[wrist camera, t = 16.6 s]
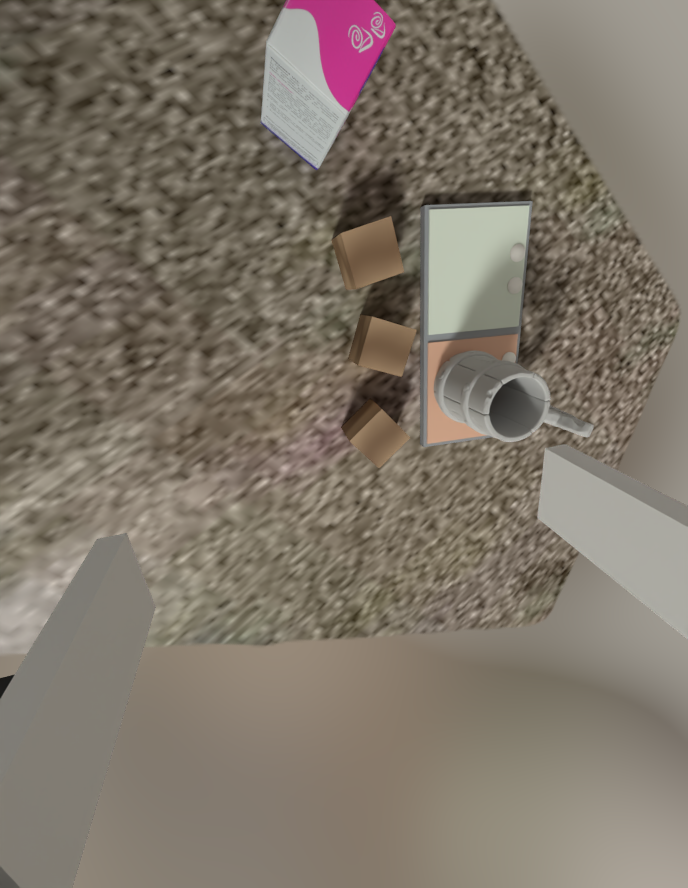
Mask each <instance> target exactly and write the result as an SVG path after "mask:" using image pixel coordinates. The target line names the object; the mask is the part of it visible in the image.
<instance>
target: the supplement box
mask: <svg viewBox="0 0 688 888" xmlns="http://www.w3.org/2000/svg"><path fill="white" fill-rule="evenodd" d="M395 27H396V24H395V23H394V22H393V20H392V19H391V18H390V17H389V16H388V15H387V14H386V12H385V11H384V10H383V9H382V8H381V7H380V6H379V5H378V4H377V3H376V2H375V1H374V0H286V2H285V4H284V6H283V8H282V10H281V12H280V14H279V16H278V18H277V20H276V22H275V25H274V27H273V29H272V31H271V33H270V35H269V37H268V39H267V42H266V56H265V71H264V85H263V101H262V114H261V121H260V123H261V124H262V125H263V126H264V127H265V128H267V129H268V130H269V131H270V132H271V133H273V134H274V135H275V136H276V137H278V138H279V139H280V140H281V141H282V142H284V143H285V144H286V145H287V146H288V147H290V148H291V149H292V150H293V151H294V152H295V153H296V154H298V155H299V156H300V157H301V158H302V159H303V160H305V161H306V162H307V163H308V164H310V165H311V166H312V167H313V168H314V169H316V170H317V169H319V167H320V165H321V164H322V162H323V160H324V158H325V157H326V155H327V153H328V151H329V149H330V148H331V146H332V144H333V142H334V141H335V139H336V137H337V135H338V133H339V132H340V130H341V128H342V126H343V124H344V123H345V121H346V119H347V117H348V115H349V113H350V111H351V110H352V108H353V106H354V104H355V102H356V101H357V99H358V97H359V95H360V93H361V91H362V89H363V88H364V86H365V84H366V82H367V80H368V78H369V76H370V75H371V73H372V71H373V69H374V67H375V65H376V63H377V61H378V59H379V58H380V56H381V54H382V52H383V50H384V48H385V46H386V44H387V42H388V40H389V39H390V37H391V35H392V33H393V31H394V29H395Z"/></svg>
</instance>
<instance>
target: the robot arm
mask: <svg viewBox="0 0 688 888" xmlns="http://www.w3.org/2000/svg"><path fill="white" fill-rule="evenodd" d="M538 519H540V520H541V521H542V522H543V523H544V524H546V525H547V526H548V527H549V528H551V529H552V530H553V531H554V532H556V533H557V534H558V535H559V536H561V537H562V538H563V539H564V540H565V541H567V542H568V543H569V544H570V545H572V546H573V547H574V548H575V549H577V550H578V551H579V552H580V553H582V554H583V555H584V556H585V557H587V558H588V559H589V560H590V561H591V562H593V563H594V564H595V565H596V566H597V567H599V568H600V569H601V570H602V571H604V572H605V573H606V574H608V575H609V576H610V577H611V578H612V579H614V580H615V581H616V582H617V583H618V584H620V585H621V586H622V587H624V588H625V589H626V590H627V591H629V592H630V593H631V594H632V595H633V596H634V597H636V598H637V599H638V600H640V601H641V602H642V603H643V604H644V605H646V606H647V607H648V608H650V609H651V610H652V611H653V612H654V613H656V614H657V615H658V616H659V617H661V618H662V619H663V620H664V621H665V622H667V623H668V624H669V625H670V626H671V627H673V628H674V629H675V630H677V631H678V632H679V633H680V634H682V635H683V636H684V637H685V638H686V639H688V506H687V505H685V504H683V503H681V502H679V501H677V500H675V499H673V498H671V497H669V496H667V495H665V494H663V493H661V492H659V491H657V490H655V489H653V488H651V487H649V486H647V485H645V484H643V483H641V482H639V481H637V480H636V479H633V478H632V477H630V476H628V475H625V474H624V473H622V472H619V471H618V470H616V469H614V468H612V467H610V466H608V465H606V464H604V463H602V462H600V461H598V460H596V459H594V458H592V457H590V456H588V455H586V454H584V453H582V452H580V451H578V450H576V449H574V448H572V447H570V446H568V445H566V444H564V445H559V446H554V447H549V448H545V454H544V463H543V473H542V482H541V491H540V500H539V509H538ZM155 608H156V606H155V604H154V601H153V599H152V596H151V594H150V591H149V589H148V586H147V584H146V581H145V578H144V576H143V573H142V571H141V568H140V566H139V563H138V561H137V558H136V556H135V553H134V550H133V548H132V545H131V543H130V540H129V538H128V535H127V533H124V534H120V535H115V536H110V537H105V538H100V539H97V540H96V542H95V544H94V545H93V547H92V549H91V550H90V552H89V553H88V555H87V557H86V558H85V560H84V562H83V563H82V565H81V567H80V568H79V570H78V572H77V573H76V575H75V577H74V578H73V580H72V581H71V583H70V585H69V586H68V588H67V590H66V591H65V593H64V595H63V596H62V598H61V600H60V601H59V603H58V605H57V606H56V608H55V609H54V611H53V613H52V614H51V616H50V618H49V619H48V621H47V623H46V624H45V626H44V628H43V629H42V631H41V633H40V634H39V636H38V637H37V639H36V641H35V642H34V644H33V646H32V647H31V649H30V651H29V652H28V654H27V656H26V657H25V659H24V661H23V662H22V664H21V666H20V667H19V669H18V671H17V672H16V674H15V675H11V676H7V677H3V678H0V888H72V887H73V884H74V881H75V877H76V874H77V870H78V867H79V864H80V860H81V857H82V854H83V850H84V847H85V843H86V840H87V837H88V833H89V830H90V826H91V823H92V820H93V816H94V813H95V810H96V806H97V803H98V800H99V796H100V793H101V790H102V786H103V783H104V779H105V776H106V773H107V769H108V766H109V763H110V759H111V756H112V752H113V749H114V745H115V742H116V739H117V736H118V732H119V729H120V726H121V722H122V719H123V715H124V712H125V709H126V705H127V702H128V699H129V695H130V692H131V688H132V685H133V682H134V678H135V675H136V672H137V668H138V665H139V662H140V658H141V655H142V651H143V648H144V645H145V641H146V638H147V635H148V631H149V628H150V625H151V621H152V618H153V614H154V611H155Z"/></svg>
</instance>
